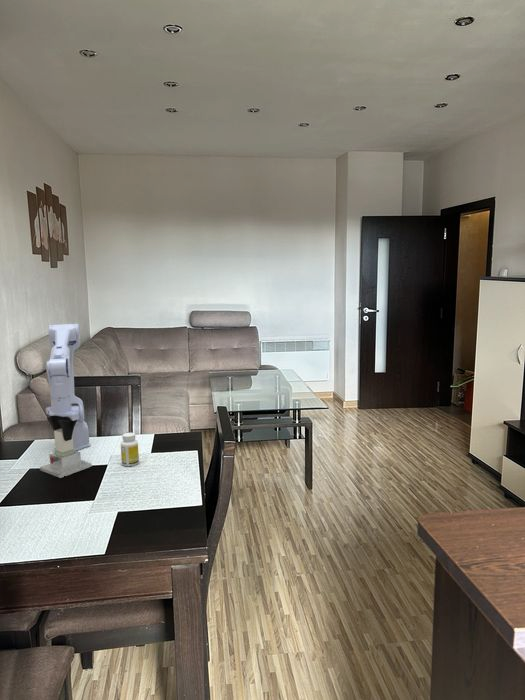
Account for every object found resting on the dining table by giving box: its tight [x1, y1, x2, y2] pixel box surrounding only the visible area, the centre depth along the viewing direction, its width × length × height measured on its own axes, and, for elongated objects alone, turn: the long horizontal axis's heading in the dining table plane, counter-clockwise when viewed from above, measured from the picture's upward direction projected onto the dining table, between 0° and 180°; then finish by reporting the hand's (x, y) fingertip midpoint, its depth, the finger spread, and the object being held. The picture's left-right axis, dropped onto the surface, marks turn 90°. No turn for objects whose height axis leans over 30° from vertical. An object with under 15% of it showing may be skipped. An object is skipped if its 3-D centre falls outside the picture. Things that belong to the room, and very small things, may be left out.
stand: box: [39, 450, 92, 479], centre depth 156 cm, size 11×11×5 cm
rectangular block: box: [53, 428, 74, 457], centre depth 155 cm, size 4×4×8 cm
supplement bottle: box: [120, 432, 140, 467], centre depth 159 cm, size 5×5×10 cm
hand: (63, 438), depth 155 cm, fingers closed on rectangular block, 4 cm apart
